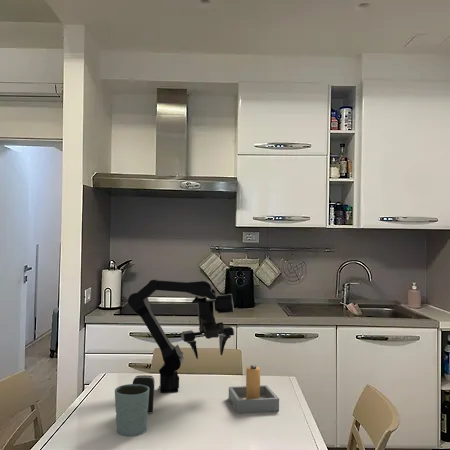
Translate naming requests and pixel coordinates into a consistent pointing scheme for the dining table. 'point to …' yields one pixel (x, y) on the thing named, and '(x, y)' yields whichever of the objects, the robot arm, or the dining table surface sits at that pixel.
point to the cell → (252, 382)
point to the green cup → (131, 409)
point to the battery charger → (150, 383)
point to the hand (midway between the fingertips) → (209, 356)
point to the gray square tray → (253, 400)
